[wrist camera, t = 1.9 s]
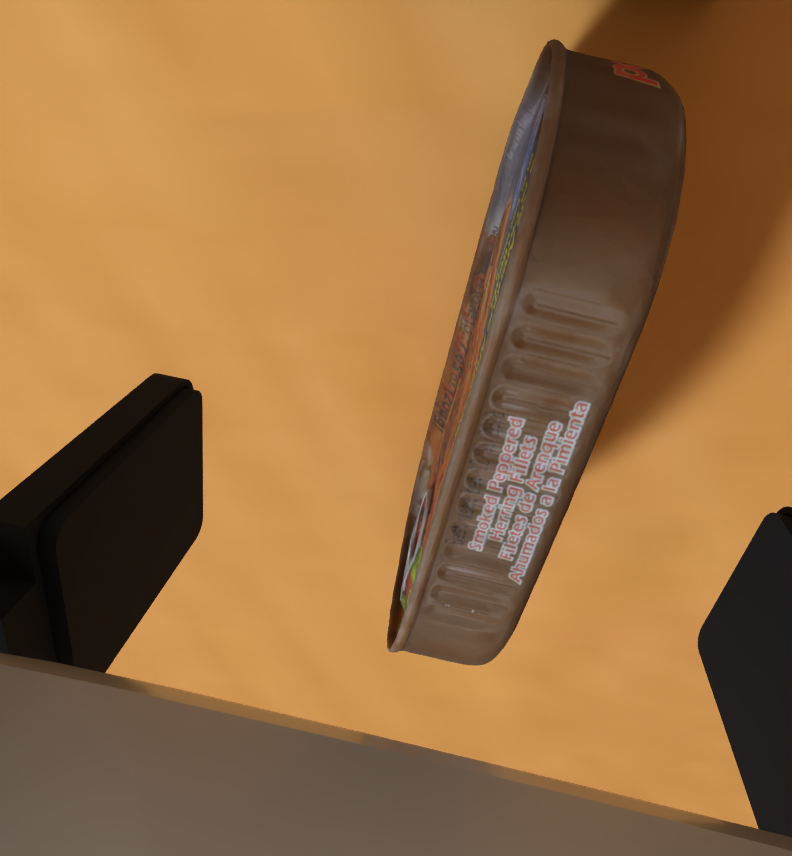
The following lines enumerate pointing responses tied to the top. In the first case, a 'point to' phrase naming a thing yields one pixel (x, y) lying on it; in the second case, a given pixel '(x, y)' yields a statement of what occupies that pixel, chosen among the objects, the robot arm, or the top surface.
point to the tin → (538, 346)
